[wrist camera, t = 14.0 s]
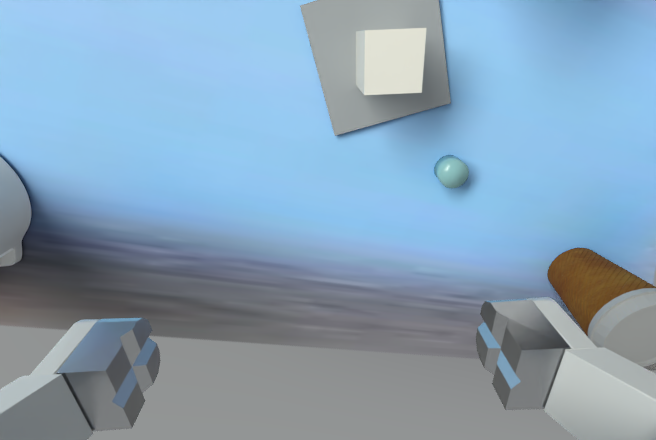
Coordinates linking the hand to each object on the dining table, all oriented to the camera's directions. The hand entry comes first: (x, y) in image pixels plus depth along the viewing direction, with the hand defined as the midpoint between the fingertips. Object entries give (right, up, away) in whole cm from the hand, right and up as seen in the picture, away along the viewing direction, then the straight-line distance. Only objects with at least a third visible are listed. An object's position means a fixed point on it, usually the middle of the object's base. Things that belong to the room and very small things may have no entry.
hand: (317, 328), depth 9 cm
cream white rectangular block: (+5, +18, +25) cm, 31 cm away
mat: (+5, +18, +26) cm, 32 cm away
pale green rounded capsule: (+14, +8, +31) cm, 35 cm away
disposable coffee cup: (+32, -4, +38) cm, 49 cm away
